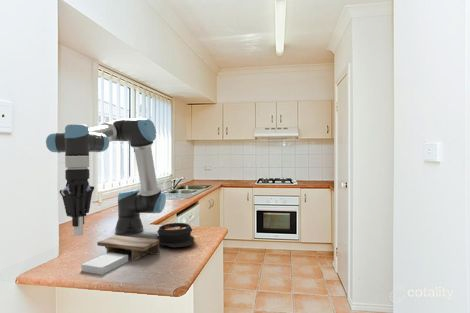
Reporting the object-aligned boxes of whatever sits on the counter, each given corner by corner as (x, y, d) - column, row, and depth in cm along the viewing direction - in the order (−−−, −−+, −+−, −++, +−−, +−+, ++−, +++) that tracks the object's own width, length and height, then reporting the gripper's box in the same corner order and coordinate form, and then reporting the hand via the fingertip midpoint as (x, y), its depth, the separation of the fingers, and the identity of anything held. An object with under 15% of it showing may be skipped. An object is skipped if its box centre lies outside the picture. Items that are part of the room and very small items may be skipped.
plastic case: (109, 259, 125) (109, 252, 125) (128, 262, 122) (128, 255, 122) (81, 272, 112) (81, 264, 112) (102, 275, 108) (101, 267, 108)
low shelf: (115, 248, 139) (115, 235, 139) (159, 253, 131) (159, 239, 131) (97, 255, 128) (97, 242, 128) (143, 261, 120) (143, 247, 120)
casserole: (148, 240, 151) (148, 223, 151) (182, 234, 161) (182, 219, 161) (165, 254, 130) (165, 235, 130) (203, 246, 140) (203, 228, 140)
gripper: (84, 167, 112) (85, 229, 112) (52, 169, 100) (53, 239, 100) (99, 167, 109) (100, 231, 110) (69, 169, 97) (70, 241, 97)
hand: (78, 234), depth 105 cm, fingers closed
